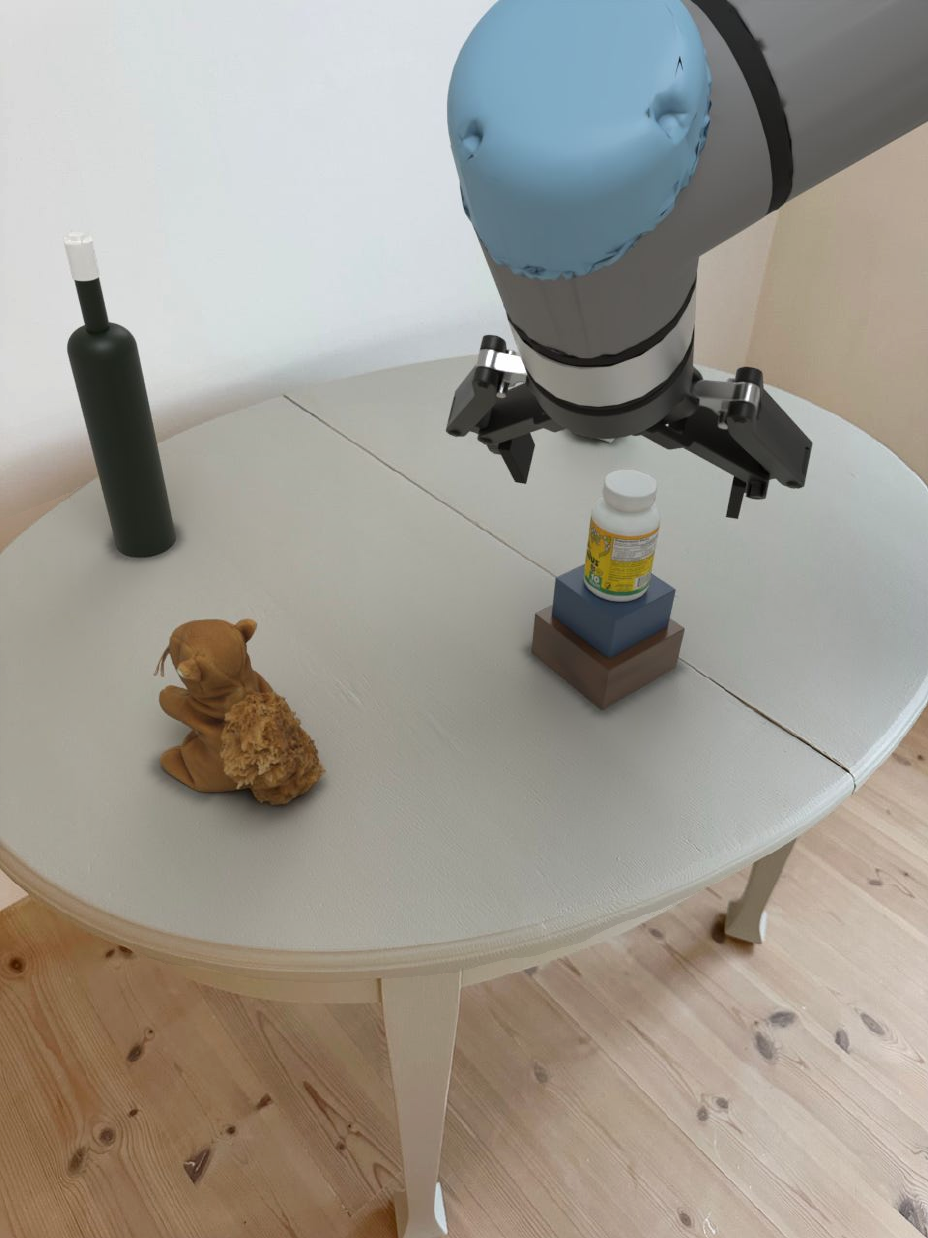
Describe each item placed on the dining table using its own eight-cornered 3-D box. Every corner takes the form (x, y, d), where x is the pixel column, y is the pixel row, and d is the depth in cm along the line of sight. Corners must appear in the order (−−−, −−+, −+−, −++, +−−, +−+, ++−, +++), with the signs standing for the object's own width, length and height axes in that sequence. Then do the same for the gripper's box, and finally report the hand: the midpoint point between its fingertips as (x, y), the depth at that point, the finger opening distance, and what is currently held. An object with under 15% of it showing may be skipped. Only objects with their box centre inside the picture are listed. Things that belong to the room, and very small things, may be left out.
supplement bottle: (652, 604, 76) (672, 502, 70) (585, 603, 76) (599, 501, 70) (643, 564, 80) (661, 465, 74) (579, 563, 80) (592, 463, 74)
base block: (676, 667, 83) (685, 628, 80) (602, 711, 79) (608, 671, 76) (604, 614, 89) (610, 575, 86) (530, 652, 84) (534, 613, 81)
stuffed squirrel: (251, 691, 80) (230, 564, 71) (364, 783, 72) (355, 654, 64) (145, 754, 74) (109, 624, 66) (256, 862, 67) (231, 731, 58)
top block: (668, 626, 80) (676, 589, 78) (608, 659, 77) (615, 621, 75) (610, 585, 85) (615, 548, 82) (551, 614, 81) (555, 577, 79)
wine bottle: (131, 565, 93) (55, 251, 73) (106, 538, 96) (27, 231, 77) (186, 544, 95) (126, 237, 76) (160, 518, 99) (96, 218, 80)
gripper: (932, 277, 38) (842, 454, 59) (355, 219, 44) (456, 398, 65) (899, 455, 37) (819, 571, 58) (316, 371, 43) (430, 503, 64)
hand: (627, 480), depth 61 cm, fingers open, 13 cm apart
